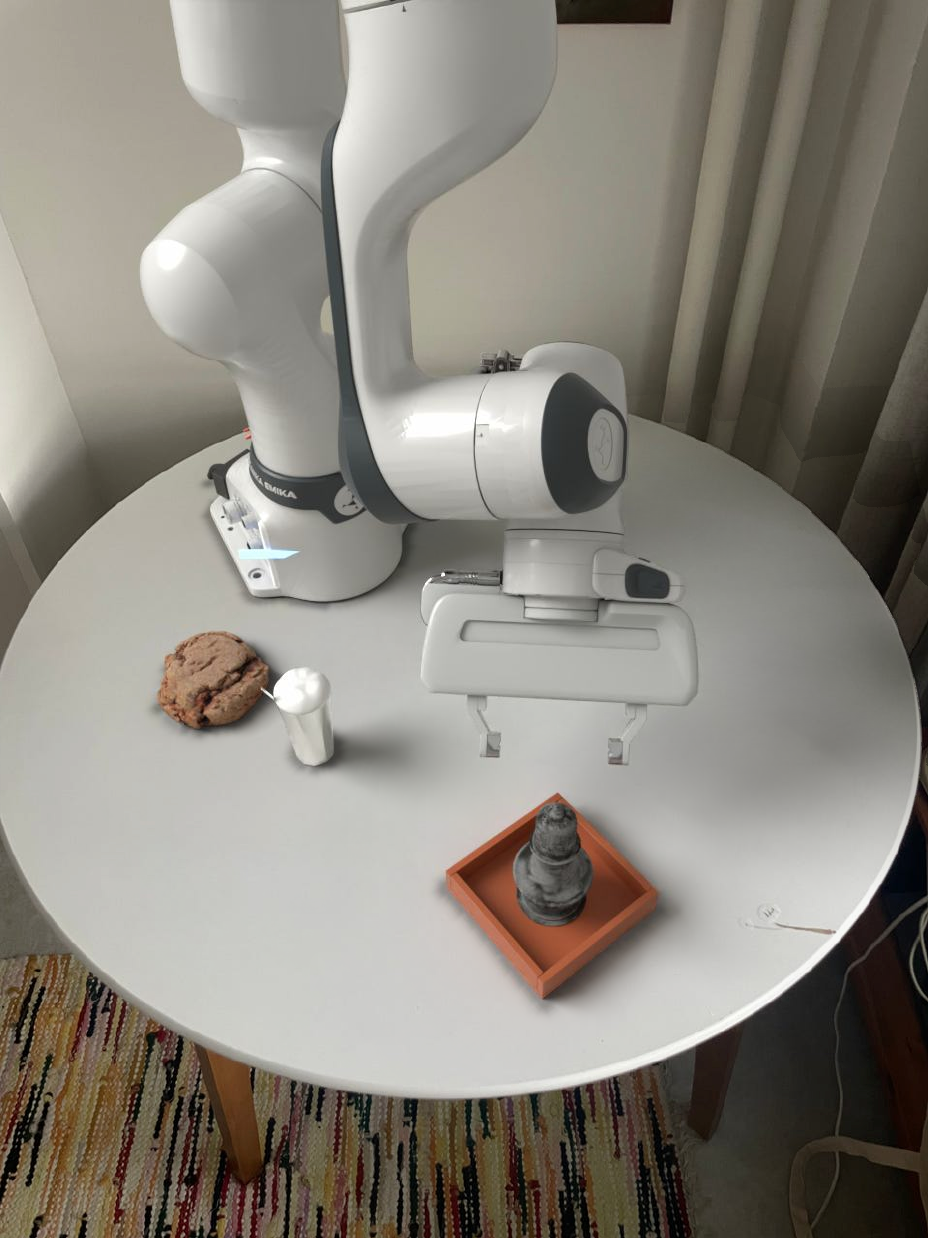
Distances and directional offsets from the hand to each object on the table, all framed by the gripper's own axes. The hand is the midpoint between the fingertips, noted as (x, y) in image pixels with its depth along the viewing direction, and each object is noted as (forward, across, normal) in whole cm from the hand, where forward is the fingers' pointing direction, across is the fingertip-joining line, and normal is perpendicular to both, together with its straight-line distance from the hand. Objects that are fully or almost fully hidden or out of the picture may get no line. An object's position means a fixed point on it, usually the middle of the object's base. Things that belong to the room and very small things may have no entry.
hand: (553, 760), depth 76 cm
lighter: (-31, -7, +44) cm, 54 cm away
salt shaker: (+10, 0, +1) cm, 11 cm away
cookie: (-2, -31, +15) cm, 34 cm away
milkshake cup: (+2, -20, +10) cm, 23 cm away
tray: (+11, 0, +2) cm, 11 cm away
